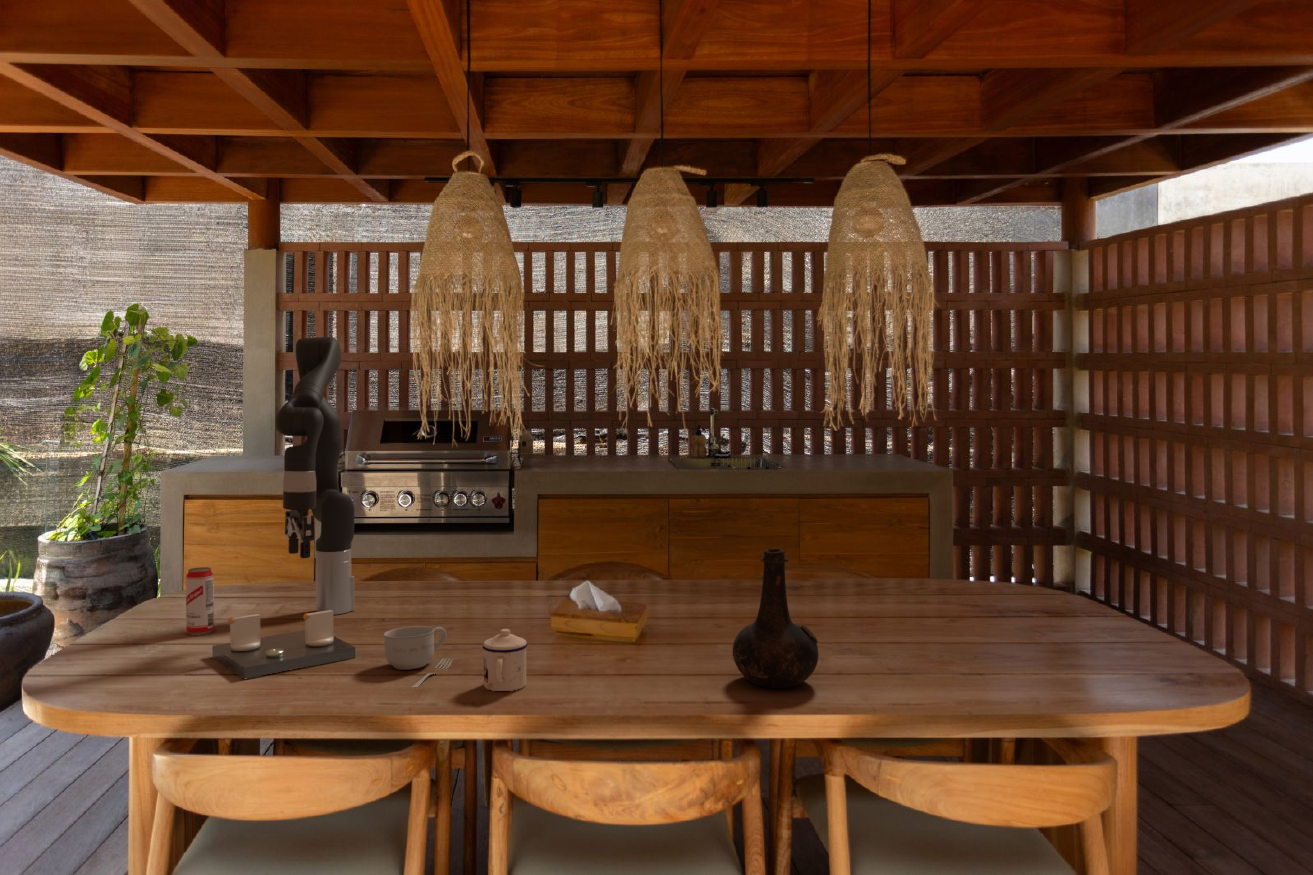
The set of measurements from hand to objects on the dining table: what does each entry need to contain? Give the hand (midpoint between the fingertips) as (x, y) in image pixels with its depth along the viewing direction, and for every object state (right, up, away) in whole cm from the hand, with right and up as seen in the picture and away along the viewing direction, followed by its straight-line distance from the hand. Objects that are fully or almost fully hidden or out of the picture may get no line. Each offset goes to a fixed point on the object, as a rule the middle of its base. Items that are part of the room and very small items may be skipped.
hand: (299, 555), depth 217 cm
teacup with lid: (+56, -23, -35) cm, 70 cm away
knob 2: (+10, -18, -12) cm, 24 cm away
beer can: (-27, -20, +6) cm, 34 cm away
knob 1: (-6, -19, -16) cm, 25 cm away
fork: (+38, -23, -30) cm, 54 cm away
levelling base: (+2, -21, -14) cm, 26 cm away
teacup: (+34, -22, -20) cm, 45 cm away
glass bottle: (+112, -23, -30) cm, 118 cm away
